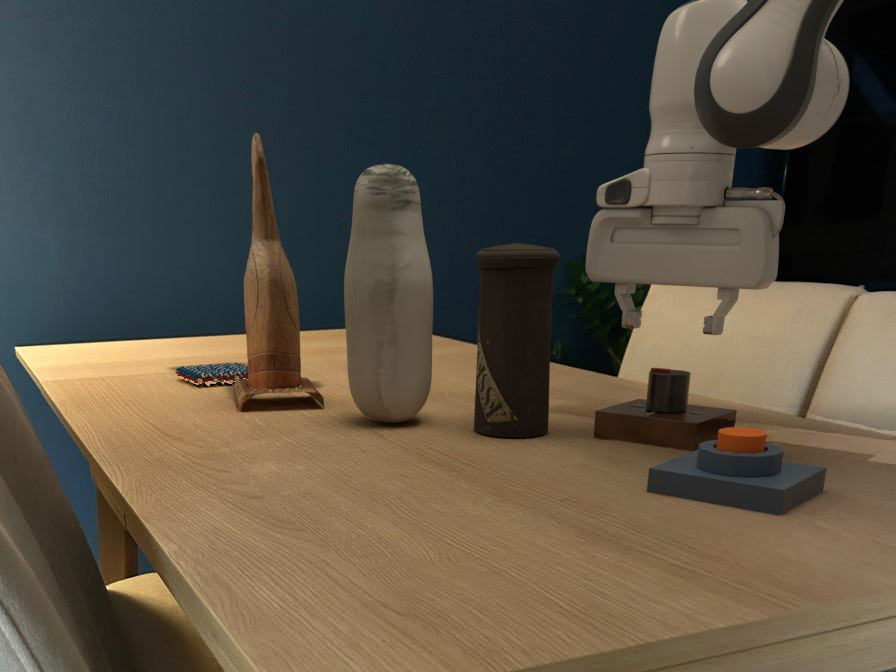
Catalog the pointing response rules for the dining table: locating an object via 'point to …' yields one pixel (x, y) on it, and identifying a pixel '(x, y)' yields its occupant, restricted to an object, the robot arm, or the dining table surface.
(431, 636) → the dining table surface
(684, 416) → the dial panel
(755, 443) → the orange push button
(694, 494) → the housing
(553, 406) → the dining table surface
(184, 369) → the woven mat
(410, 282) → the grey rounded cylinder
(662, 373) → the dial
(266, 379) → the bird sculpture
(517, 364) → the container
